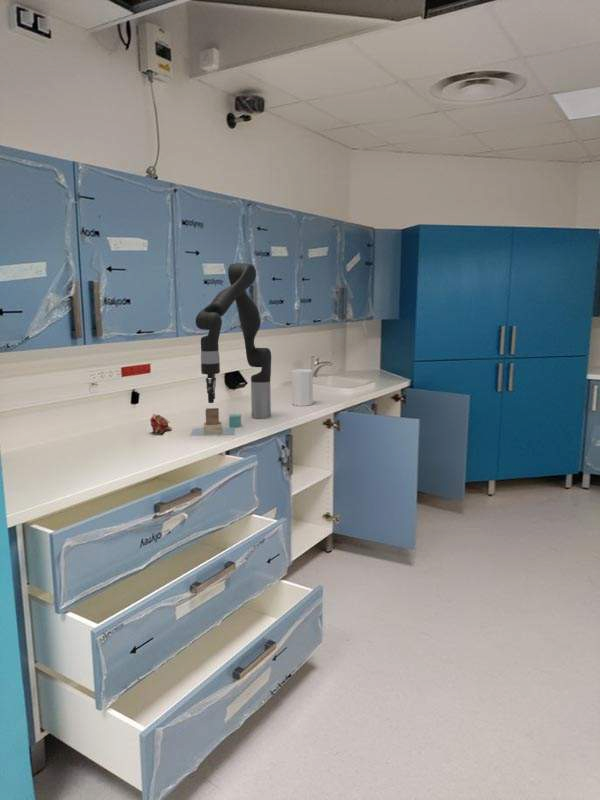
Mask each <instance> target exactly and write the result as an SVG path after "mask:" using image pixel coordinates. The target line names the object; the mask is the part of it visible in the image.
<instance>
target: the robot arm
mask: <svg viewBox="0 0 600 800" xmlns="http://www.w3.org/2000/svg"><path fill="white" fill-rule="evenodd" d="M227 274H228V275H227V276H228V282H229V284H230V285H229V286H227V287H226V288H224V289H222V290H221V291H220V292H218V293H217V295H216V296H215V297H214V299H212V301H211V302H210V303H209V304H208V305H206V307H204V308H202V310H200V311H199V312H198V314H197V315H196V318H195V325H196V327H197V328H198V329H199V330H202V331H208V334H207V335H204V336H201V338H200V350H201V351H200V369H201V370H200V371H201V374H202V375H207V377H206V378H205V383H206V385H205V386H206V393H207V402H208V404H213V403H214V402H215V399H216V391H215V390H216V385H217V377H216V375H218V374H220V372H221V363H220V360H221V359H220V352H219V340H220V339H219V338H220V334H221V331H222V330H221V329H222V327H223V326H222V325H223V320H222V317H223V316H224V315H225V314H226V313H227V311H228V310H229V309H230V307H231V306H232V304H234V302H235V304H236V308H237V313H238V320H239V322H240V327H241V330H242V334H243V335H242V336H243V339H244V345H245V346H244V347H245V355H246V361H247V364H248V365H249V367H252V368H261V370H260V372H258V373H255V374H252V375H251V377H250V392H251V393H250V394H251V397H250V399H251V418H253V419H268V418H271V417H272V414H271V413H272V409H271V407H272V405H271V404H272V401H271V400H272V397H271V396H272V395H271V393H272V392H271V375H272V352H271V350H270V348H268V347H256V345H255V339H256V336H257V334H258V331H259V330H260V327H261V323H262V322H261V321H262V320H261V316H260V311H259V308H258V306H257V305H256V303H255V302H254V301H253V300H252V298H250V296H249V294H248V293H247V291H246V290H247V289H248V288H250V287H251V285H253V284H254V282H255V280H256V278H257V270H256V267H255V266H254V265H253V264H251V263H244V262H243V263H241V262H233V263H230V264H229V266H228V270H227Z"/></svg>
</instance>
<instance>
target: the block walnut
mask: <svg viewBox="0 0 600 800" xmlns="http://www.w3.org/2000/svg"><path fill="white" fill-rule="evenodd" d="M219 415H220V411H219V407H218V408H216V407H214V408H212V407H211V408H210V407H209V408H205V422H206V425H218V424H219V422H220V416H219Z"/></svg>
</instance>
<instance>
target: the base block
mask: <svg viewBox="0 0 600 800" xmlns="http://www.w3.org/2000/svg"><path fill="white" fill-rule="evenodd" d="M222 425H223V424H222V421H219V424H218V425H206V421H204V423H203V428H204V435H208V436H211V435H210V434H221V432H222V428H223V426H222Z"/></svg>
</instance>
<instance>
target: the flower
mask: <svg viewBox="0 0 600 800" xmlns="http://www.w3.org/2000/svg"><path fill="white" fill-rule="evenodd" d="M149 419H150V427H152V433H153V434H155V433H156V432H157V433H158V434H160V435H162V434H163V433H166V431H167V430H172V429H173V428H172V427H171V426H170V425H169V424H170V421H168V419H167V418H165V417H164V416H162V415H161V414H155V413H153V414H152V416H151V417H150V418H149Z"/></svg>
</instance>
